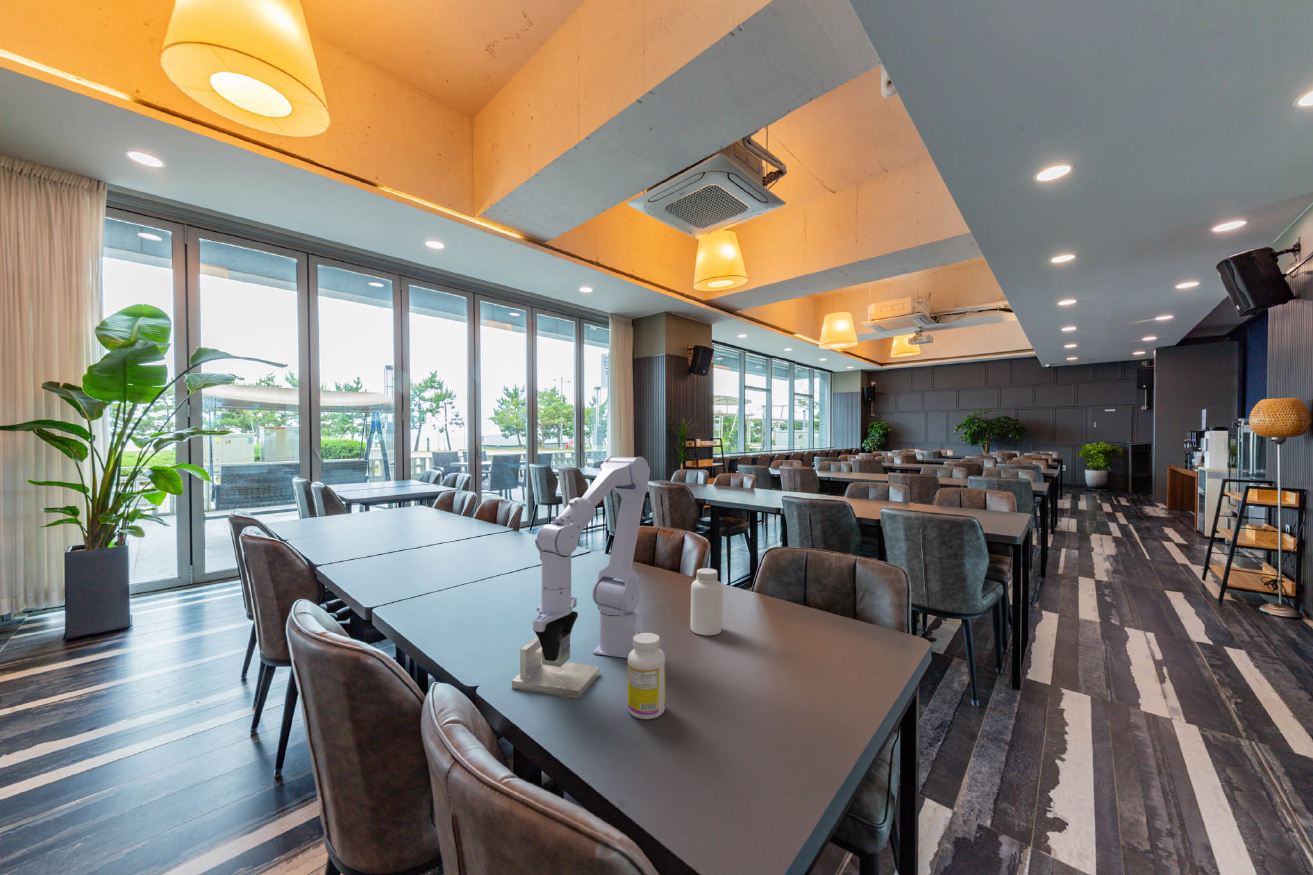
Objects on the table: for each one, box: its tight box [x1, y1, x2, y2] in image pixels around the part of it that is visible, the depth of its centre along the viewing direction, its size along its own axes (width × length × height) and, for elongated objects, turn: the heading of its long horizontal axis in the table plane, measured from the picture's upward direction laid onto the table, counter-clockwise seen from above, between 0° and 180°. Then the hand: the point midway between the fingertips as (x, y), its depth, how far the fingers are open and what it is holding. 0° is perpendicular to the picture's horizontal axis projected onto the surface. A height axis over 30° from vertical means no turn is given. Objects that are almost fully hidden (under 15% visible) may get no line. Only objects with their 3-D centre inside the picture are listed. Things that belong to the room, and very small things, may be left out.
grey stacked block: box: [541, 632, 571, 667], centre depth 95 cm, size 4×4×5 cm
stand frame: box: [511, 636, 601, 700], centre depth 96 cm, size 14×10×7 cm
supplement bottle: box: [627, 632, 666, 720], centre depth 85 cm, size 7×7×13 cm
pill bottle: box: [689, 567, 724, 636], centre depth 122 cm, size 8×8×15 cm
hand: (556, 654), depth 95 cm, fingers closed on grey stacked block, 4 cm apart
